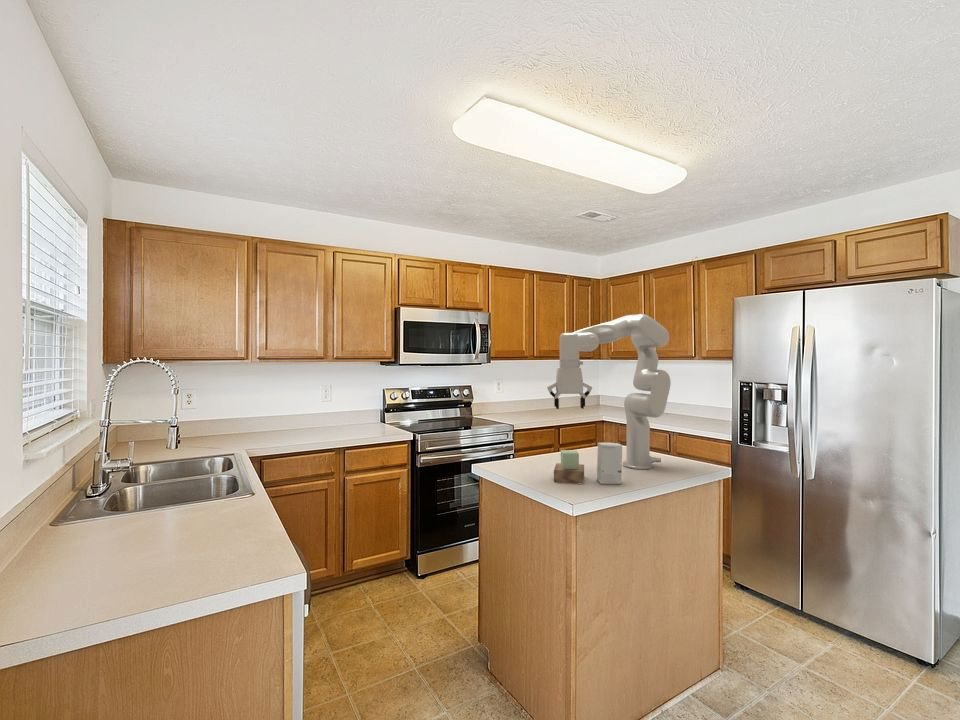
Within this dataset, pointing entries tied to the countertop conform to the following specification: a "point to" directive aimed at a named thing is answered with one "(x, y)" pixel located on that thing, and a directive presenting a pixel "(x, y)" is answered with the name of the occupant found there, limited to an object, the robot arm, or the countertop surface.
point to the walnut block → (569, 474)
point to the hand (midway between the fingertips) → (569, 408)
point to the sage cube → (569, 459)
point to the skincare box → (609, 463)
